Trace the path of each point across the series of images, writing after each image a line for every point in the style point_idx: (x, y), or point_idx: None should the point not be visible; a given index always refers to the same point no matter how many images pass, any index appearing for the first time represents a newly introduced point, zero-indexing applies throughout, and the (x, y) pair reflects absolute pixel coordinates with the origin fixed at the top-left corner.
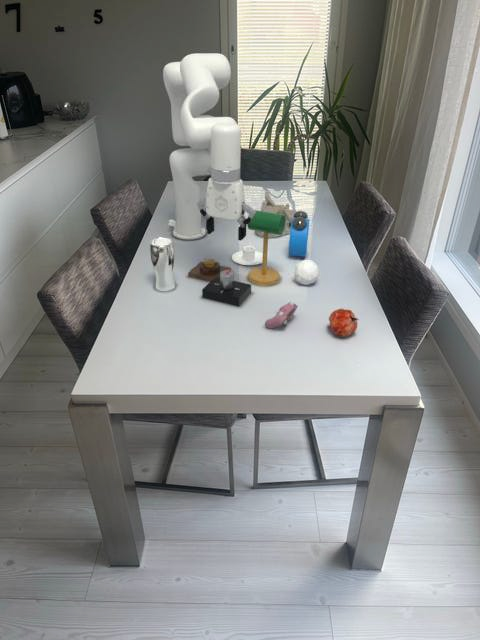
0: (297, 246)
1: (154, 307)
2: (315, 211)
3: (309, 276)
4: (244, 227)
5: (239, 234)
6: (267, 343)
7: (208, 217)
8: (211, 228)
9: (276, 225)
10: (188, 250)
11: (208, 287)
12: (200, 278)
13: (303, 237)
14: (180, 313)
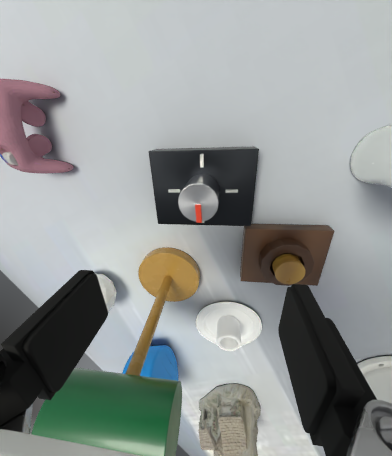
0: None
1: (383, 13)
2: (198, 442)
3: None
4: (6, 354)
5: (58, 295)
6: (12, 18)
7: (369, 453)
8: (291, 330)
9: (51, 405)
10: (365, 323)
11: (245, 166)
12: (294, 225)
13: None
14: (282, 29)
